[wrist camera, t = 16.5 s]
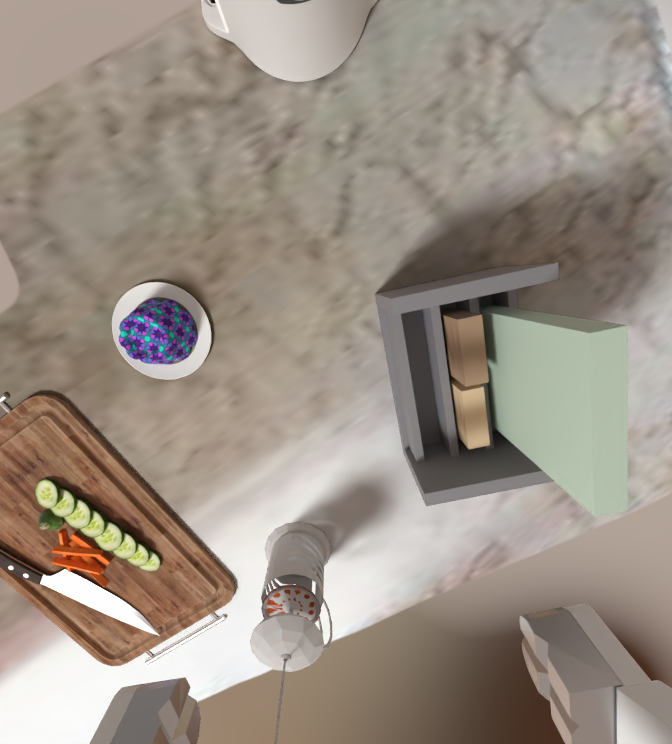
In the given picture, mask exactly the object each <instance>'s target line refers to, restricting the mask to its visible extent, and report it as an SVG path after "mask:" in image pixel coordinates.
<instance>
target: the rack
mask: <svg viewBox="0 0 672 744" xmlns="http://www.w3.org/2000/svg"><path fill="white" fill-rule="evenodd" d="M555 280H559V266H558V263H545V264H532V265H519V266H505V267H496V268H491V269H487V270H482V271H477V272H473V273H468V274H464V275H459V276H454V277H450V278H445V279H441V280H436V281H432V282H427V283H422V284H418V285H413V286H409V287H404V288H399V289H395V290H390V291H386V292H381V293H377V294H375V297H376V302H377V308H378V313H379V319H380V324H381V330H382V335H383V341H384V347H385V352H386V358H387V363H388V369H389V374H390V380H391V385H392V391H393V397H394V402H395V408H396V413H397V419H398V424H399V430H400V435H401V441H402V447H403V452H404V455H405V458H406V460H407V462H408V465H409V467H410V469H411V472H412V474H413V476H414V479H415V481H416V483H417V486H418V488H419V490H420V493H421V495H422V497H423V500H424V502H425V504H426V506H430V505H435V504H440V503H445V502H450V501H455V500H461V499H466V498H471V497H476V496H481V495H486V494H491V493H496V492H501V491H507V490H512V489H517V488H522V487H527V486H532V485H537V484H542V483H547V482H553V481H554V480H553V479H552V478H550V477H549V476H548V475H547V474H546V473H545V472H544V471H543V470H542V469H540V468H539V467H538V466H537V465H536V464H535V463H534V462H533V461H531V460H530V459H529V458H528V457H527V456H526V455H525V454H524V453H522V452H521V451H520V450H519V449H518V448H517V447H516V446H515V445H513V444H512V443H511V442H510V441H509V440H508V439H507V438H506V437H505V436H503V435H502V434H501V433H500V432H499V431H498V430H497V429H496V428H494V427H493V426H492V425H491V416H490V406H489V397H488V387H487V383H482V384H480V385H482V386H483V387H484V394H485V403H486V413H487V422H488V431H489V440H490V445H489V446H484V447H479V448H474V449H468V448H467V447H466V445H465V444H464V443H463V442H462V441H461V439H460V438H459V437H458V436H457V434H456V426H455V419H454V411H453V404H452V397H451V389H450V382H449V373H448V367H447V359H446V352H445V345H444V337H443V330H442V322H441V315H440V311H442V310H447V309H452V308H455V309H460V310H464V311H469V312H473V313H478V314H480V311H479V306H483V305H487V304H490V305H497V306H504V307H510V308H517V309H519V308H518V295H517V289H518V288H523V287H527V286H532V285H537V284H541V283H546V282H551V281H555Z"/></svg>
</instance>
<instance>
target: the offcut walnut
mask: <svg viewBox="0 0 672 744" xmlns="http://www.w3.org/2000/svg"><path fill="white" fill-rule="evenodd" d="M440 315H441V322H442V330H443V337H444V345H445V352H446V359H447V367H448V373H449V374H450V375H451V376H452V377H454V378H455V379H456V380H458V381H459V382H460V383H461V384H463V385H464V386H465V387H468V386H473V385H477V384H482V383H487V382H489V377H488V367H487V358H486V348H485V339H484V329H483V319H482V314H478V313H473V312H469V311H464V310H460V309H455V308H452V309H447V310H442V311H440Z"/></svg>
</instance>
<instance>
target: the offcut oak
mask: <svg viewBox="0 0 672 744" xmlns="http://www.w3.org/2000/svg"><path fill="white" fill-rule="evenodd" d="M449 382H450V389H451V397H452V404H453V411H454V419H455V426H456V434H457V436H458V437H459V438H460V439H461V441H462V442H463V443H464V444H465V445H466V447H467V448H468V449H474V448H479V447H484V446H489V445H490V440H489V431H488V422H487V413H486V403H485V394H484V387H483V386H482V385H480V384H477V385H473V386H468V387H465V386H464V385H463V384H461V383H460V382H459V381H458V380H456V379H455V378H454V377H452V376H451V375H450V374H449Z"/></svg>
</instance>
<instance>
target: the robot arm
mask: <svg viewBox="0 0 672 744" xmlns="http://www.w3.org/2000/svg"><path fill="white" fill-rule="evenodd" d="M211 1H212V0H201V5H202V13H203V17H204V20H205V23H206V25H207V27H208V28H209V29H210V30H211V31H212V32H213V33H215V34H217V35H219V36H220V37H222V38H225V39H227V40H229V41H231V42H233V43H235V44H236V45H237V46H238V47H239V48H240V49H241V50H242V51H243V52H244V53H245V55H246V56H247V57H248V58H249V59H250V60H251V61H252V62H253V63H254V64H255V65H256V66H258V67H259V68H260V69H262V70H263V71H265V72H266V73H268V74H270V75H272V76H274V77H277V78H279V79H282V80H287V81H294V82H304V81H310V80H315V79H318V78H321V77H323V76H325V75H327V74H329V73H330V72H332V71H333V70H335V69H336V68H337V67H339V66H340V65H341V64H342V63H343V62H344V61H345V60H346V59H347V58H348V56H349V55H350V54H351V52H352V51H353V49H354V48H355V46H356V44H357V43H358V41H359V39H360V36H361V34H362V31H363V28H364V25H365V23H366V20H367V17H368V14H369V12H370V10H371V8H372V7H373V6H374V5H375V3H376V2H377V1H378V0H215V2H216V3H211ZM520 628H521V630H522V632H523V633H524V635H525V638H524V639H523V641H522V647H523V654H524V657H525V661H526V663H527V667H528V670H529V672H530V674H531V676H532V679H533V681H534V683H535V685H536V687H537V689H538V691H539V693H540V694H542V695H543V696H544V697H545V698H546V699H548V700H549V701H550V702H551V713H552V719H553V721H554V723H555V724H556V726H557V728H558V730H559V732H560V734H561V736H562V738H563V740H564V742H565V744H672V688H670V687H669V686H667V685H666V684H664V683H662V682H661V681H659V680H658V681H651V680H650V679H649V678H648V676H647V675H646V674H645V673H644V672H643V670H642V669H641V668H640V667H639V665H638V664H637V663H636V662H635V661H634V659H633V658H632V657H631V656H630V655H629V653H628V652H627V651H626V649H625V648H624V647H623V646H622V644H621V643H620V642H619V641H618V640H617V638H616V637H615V636H614V635H613V633H612V632H611V631H610V630H609V628H608V627H607V626H606V625H605V623H604V622H603V621H602V620H601V618H600V617H599V616H598V615H597V614H596V612H595V611H594V610H593V609H592V608H591V607H590V606H589V605H587V604H580V605H575V606H571V607H566V608H562V607H561V608H556V609H551V610H546V611H541V612H536V613H531V614H526V615H521V617H520ZM189 689H190V685H189V683H188V682H187V680H186V678H178V679H172V680H166V681H159V682H153V683H147V684H140V685H134V686H128V687H123V688H121V689H120V690H119V691H118V693H117V694H116V695H115V696H114V698H113V700H112V701H111V703H110V705H109V707H108V709H107V711H106V713H105V715H104V717H103V719H102V721H101V723H100V724H99V726H98V728H97V730H96V732H95V734H94V736H93V738H92V740H91V742H90V744H197V741H198V737H199V731H200V730H199V729H200V719H201V718H200V710H199V706H198V704H197V701H196V700H195V699H193V698H192V697H190V696H189V695H188V692H189Z"/></svg>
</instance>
